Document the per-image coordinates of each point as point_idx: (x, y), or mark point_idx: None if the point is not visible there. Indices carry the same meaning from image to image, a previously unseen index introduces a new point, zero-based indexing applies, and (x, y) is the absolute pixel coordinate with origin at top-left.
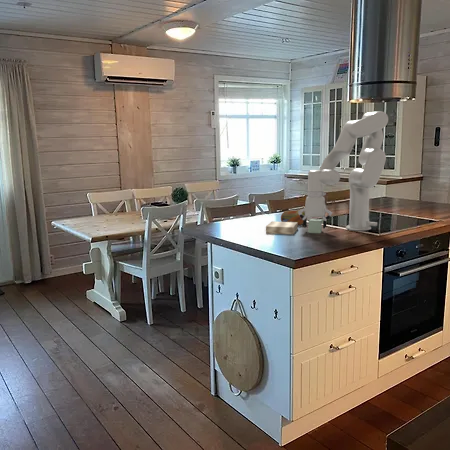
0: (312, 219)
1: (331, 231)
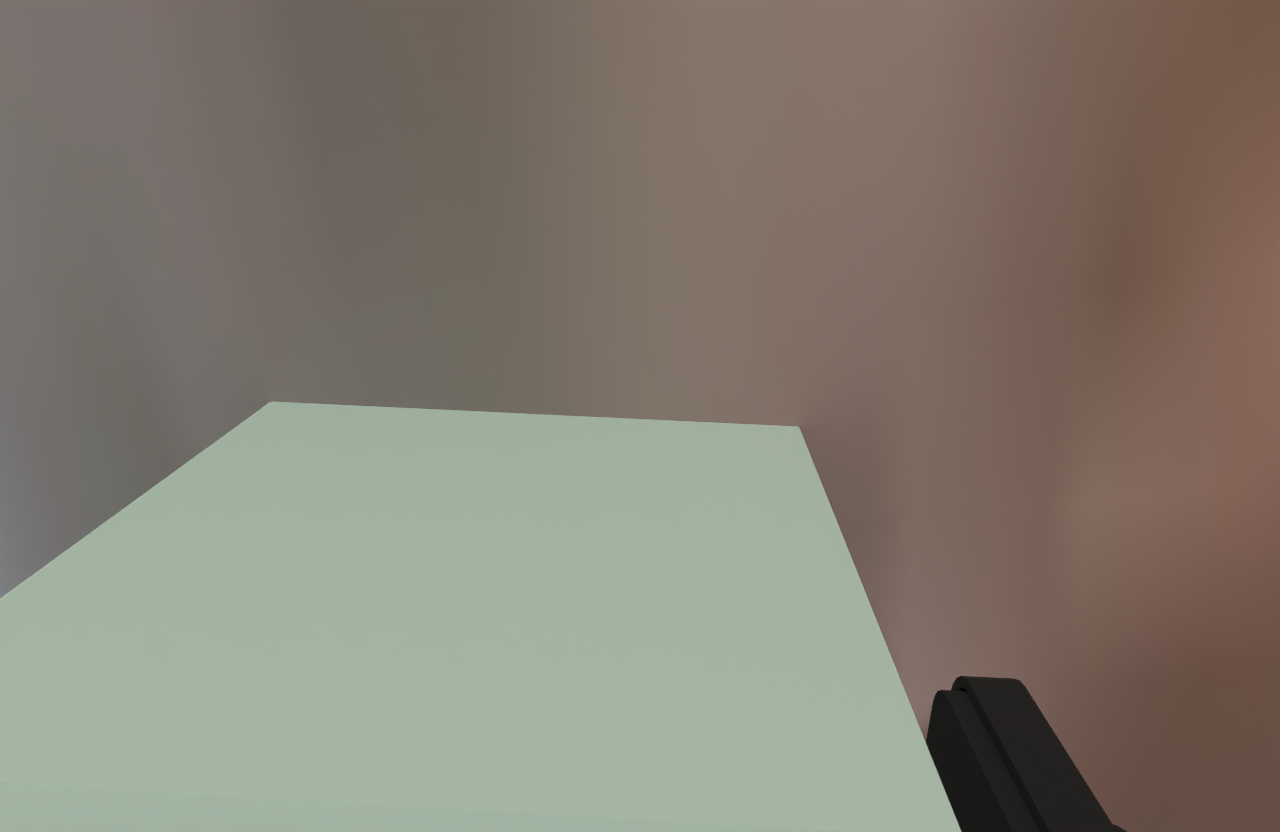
0: (13, 803)
1: (1238, 488)
